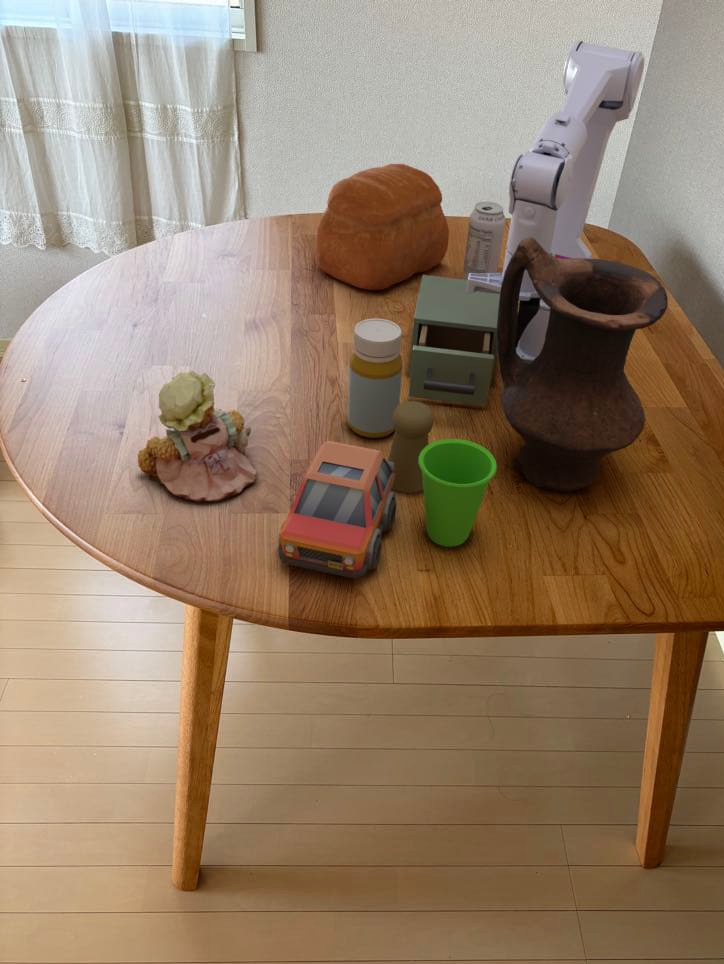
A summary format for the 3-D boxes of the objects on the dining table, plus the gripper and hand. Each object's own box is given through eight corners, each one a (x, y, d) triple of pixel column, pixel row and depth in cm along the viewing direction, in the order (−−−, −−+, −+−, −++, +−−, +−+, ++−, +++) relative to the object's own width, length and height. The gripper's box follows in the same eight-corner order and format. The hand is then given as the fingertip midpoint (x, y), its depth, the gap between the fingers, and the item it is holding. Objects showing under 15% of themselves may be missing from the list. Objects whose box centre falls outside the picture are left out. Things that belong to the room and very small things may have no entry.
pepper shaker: (425, 496, 116) (433, 425, 109) (379, 488, 117) (384, 416, 110) (433, 469, 121) (442, 399, 114) (389, 461, 122) (395, 390, 114)
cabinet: (491, 385, 138) (500, 328, 132) (408, 375, 138) (414, 318, 132) (493, 338, 149) (502, 283, 143) (417, 329, 149) (422, 274, 143)
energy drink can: (501, 293, 162) (514, 210, 152) (477, 301, 158) (488, 217, 149) (478, 280, 165) (489, 197, 155) (454, 288, 162) (463, 204, 152)
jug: (641, 452, 128) (703, 247, 108) (608, 527, 114) (672, 310, 95) (500, 410, 133) (534, 207, 113) (453, 477, 120) (483, 261, 100)
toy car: (269, 572, 104) (267, 504, 97) (313, 486, 116) (314, 420, 110) (367, 593, 102) (371, 526, 96) (401, 503, 115) (407, 438, 108)
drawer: (485, 424, 128) (492, 376, 123) (405, 414, 129) (409, 366, 124) (489, 359, 142) (496, 313, 137) (416, 350, 142) (421, 305, 137)
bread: (454, 266, 168) (465, 174, 157) (377, 302, 156) (383, 204, 144) (384, 236, 176) (389, 146, 165) (305, 267, 163) (305, 172, 152)
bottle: (404, 419, 129) (412, 324, 119) (385, 445, 124) (392, 348, 114) (359, 406, 131) (364, 312, 121) (339, 431, 126) (342, 335, 116)
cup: (407, 509, 114) (415, 437, 107) (478, 510, 115) (490, 438, 108) (414, 558, 107) (422, 485, 100) (489, 558, 109) (503, 485, 101)
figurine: (233, 429, 124) (229, 334, 114) (280, 487, 117) (280, 391, 106) (127, 461, 117) (112, 363, 107) (169, 525, 110) (158, 426, 99)
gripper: (471, 257, 115) (459, 351, 124) (585, 270, 115) (564, 364, 124) (473, 234, 120) (461, 327, 129) (582, 247, 120) (563, 339, 129)
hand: (512, 343), depth 127 cm, fingers closed
